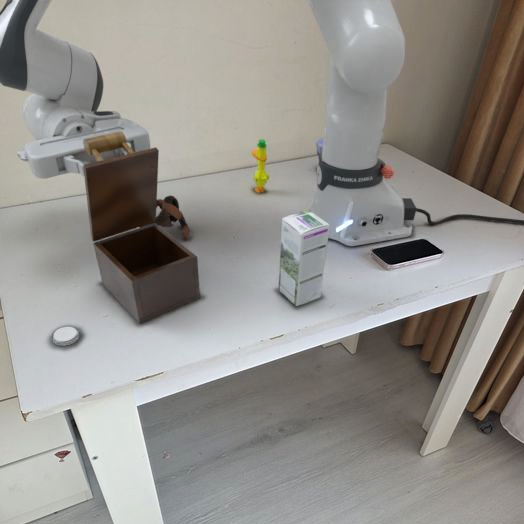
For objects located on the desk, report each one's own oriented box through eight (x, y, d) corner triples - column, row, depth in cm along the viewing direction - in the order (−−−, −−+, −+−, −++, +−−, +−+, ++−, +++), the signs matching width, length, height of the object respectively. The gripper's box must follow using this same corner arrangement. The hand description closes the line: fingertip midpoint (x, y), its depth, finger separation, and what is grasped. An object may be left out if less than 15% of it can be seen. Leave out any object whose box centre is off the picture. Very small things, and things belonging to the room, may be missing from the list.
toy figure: (246, 186, 118) (246, 135, 110) (259, 183, 119) (261, 133, 111) (258, 197, 114) (260, 145, 105) (272, 194, 115) (274, 143, 107)
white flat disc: (54, 348, 74) (53, 345, 74) (51, 332, 77) (49, 329, 76) (81, 341, 76) (80, 338, 75) (77, 326, 78) (76, 323, 78)
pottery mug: (189, 249, 97) (165, 220, 91) (152, 261, 101) (126, 234, 95) (198, 208, 103) (176, 178, 97) (163, 221, 107) (139, 193, 101)
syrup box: (322, 297, 86) (332, 223, 76) (294, 308, 83) (301, 232, 73) (303, 281, 89) (310, 208, 79) (276, 291, 87) (280, 216, 77)
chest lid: (158, 150, 74) (136, 123, 77) (85, 168, 69) (63, 139, 71) (156, 221, 86) (136, 197, 89) (93, 242, 81) (74, 215, 83)
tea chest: (200, 297, 85) (197, 256, 79) (139, 323, 79) (131, 281, 74) (160, 262, 93) (155, 222, 87) (102, 284, 87) (92, 242, 81)
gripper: (7, 131, 77) (38, 160, 70) (124, 109, 87) (163, 131, 79) (19, 170, 82) (50, 201, 74) (130, 144, 91) (167, 169, 84)
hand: (110, 165), depth 77 cm, fingers open, 6 cm apart
